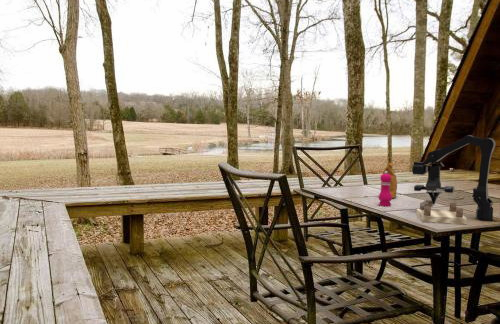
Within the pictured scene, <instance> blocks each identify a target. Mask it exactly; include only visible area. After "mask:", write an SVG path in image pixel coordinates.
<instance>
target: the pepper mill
mask: <svg viewBox="0 0 500 324" xmlns="http://www.w3.org/2000/svg"><path fill="white" fill-rule="evenodd" d="M384 173H385V174H383V173H382V174H381V175H380V177H379V178H380V185H381V184H382V190H381V189H380V192H379V194H378V200H379V202H378V203H379V206H380V207H391V205H392V203H391V201H392V199H393V198H392V196H391V193H390V190H389V185H390V181H391V175H389V174H387V173H388V172H387V171H385V172H384ZM381 181H382V182H381Z"/></svg>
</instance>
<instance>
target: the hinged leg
mask: <svg viewBox="0 0 500 324" xmlns="http://www.w3.org/2000/svg"><path fill="white" fill-rule="evenodd" d="M424 206H429V207H431V208H433V207H434V205H433V202H432V200H429V199H427V200H424V201H421V202H420V203H419V209H422V210H424Z"/></svg>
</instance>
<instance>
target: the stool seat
mask: <svg viewBox="0 0 500 324" xmlns="http://www.w3.org/2000/svg"><path fill="white" fill-rule="evenodd" d="M416 215H417V217H418V218H419V220H420V221H421V223H428V222H435V223H434V224H445V223H451V224H450V225H463V224H466V225H467V217H466V216H465V215H464V208H463V207H457V202H449V209H440V208H439V209H437V208H432V207H429V206H424V210H422V209H420V207H419V208H416Z"/></svg>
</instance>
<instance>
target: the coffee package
mask: <svg viewBox="0 0 500 324" xmlns="http://www.w3.org/2000/svg"><path fill="white" fill-rule="evenodd" d="M393 166H394V163H393V162H390V163H387V166H386V167H385V168H384V170H383V172H382V174H385V173H384V172H385V171H387V172H388V173H387V174H389V175H391V181H390V185H389V190H390V193H391V196H392V199H394V198H395V197H396V196H397V191H398V181H397V175H396V174H395V172H394V170H393ZM381 182H382V181H381V180H380V191H381V190H382V184H381Z"/></svg>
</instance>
